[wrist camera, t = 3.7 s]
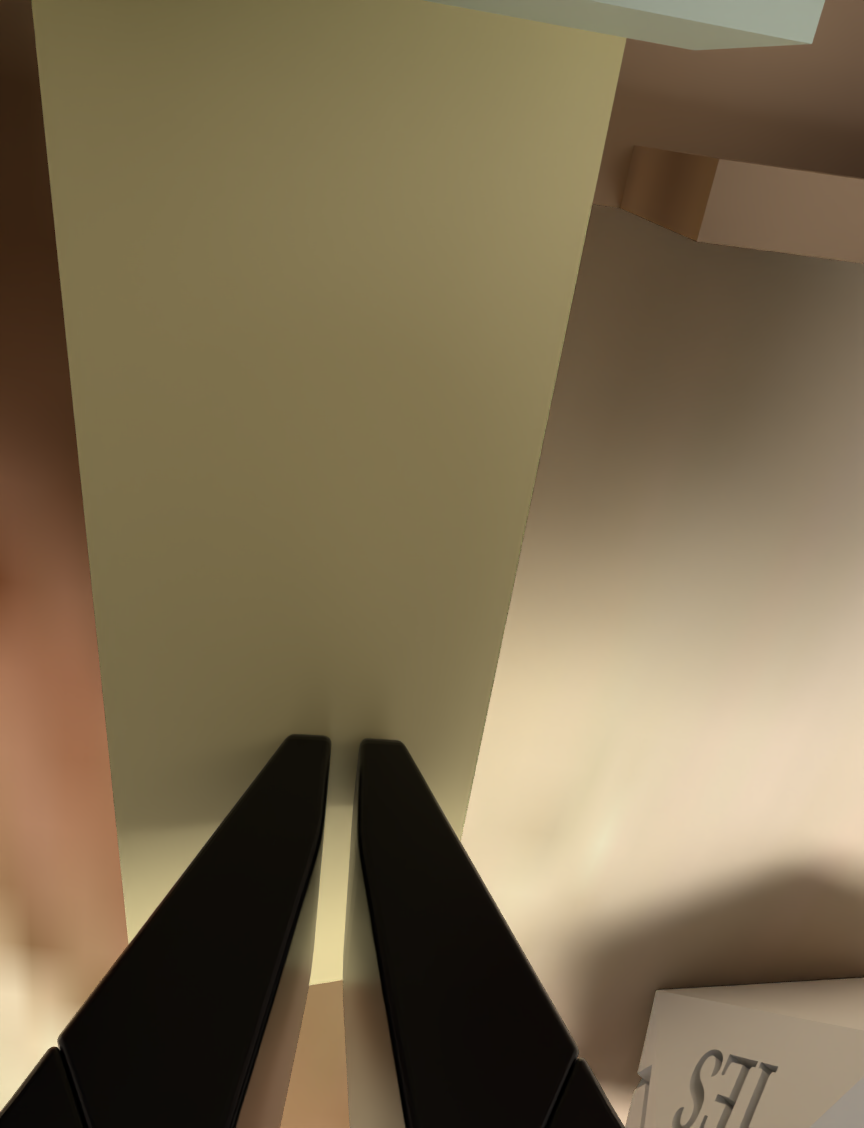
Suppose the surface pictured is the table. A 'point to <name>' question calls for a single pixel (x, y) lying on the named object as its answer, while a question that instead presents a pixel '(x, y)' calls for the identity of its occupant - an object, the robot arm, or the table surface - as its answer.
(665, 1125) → the die
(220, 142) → the lever
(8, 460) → the table surface
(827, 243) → the tray
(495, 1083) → the robot arm
